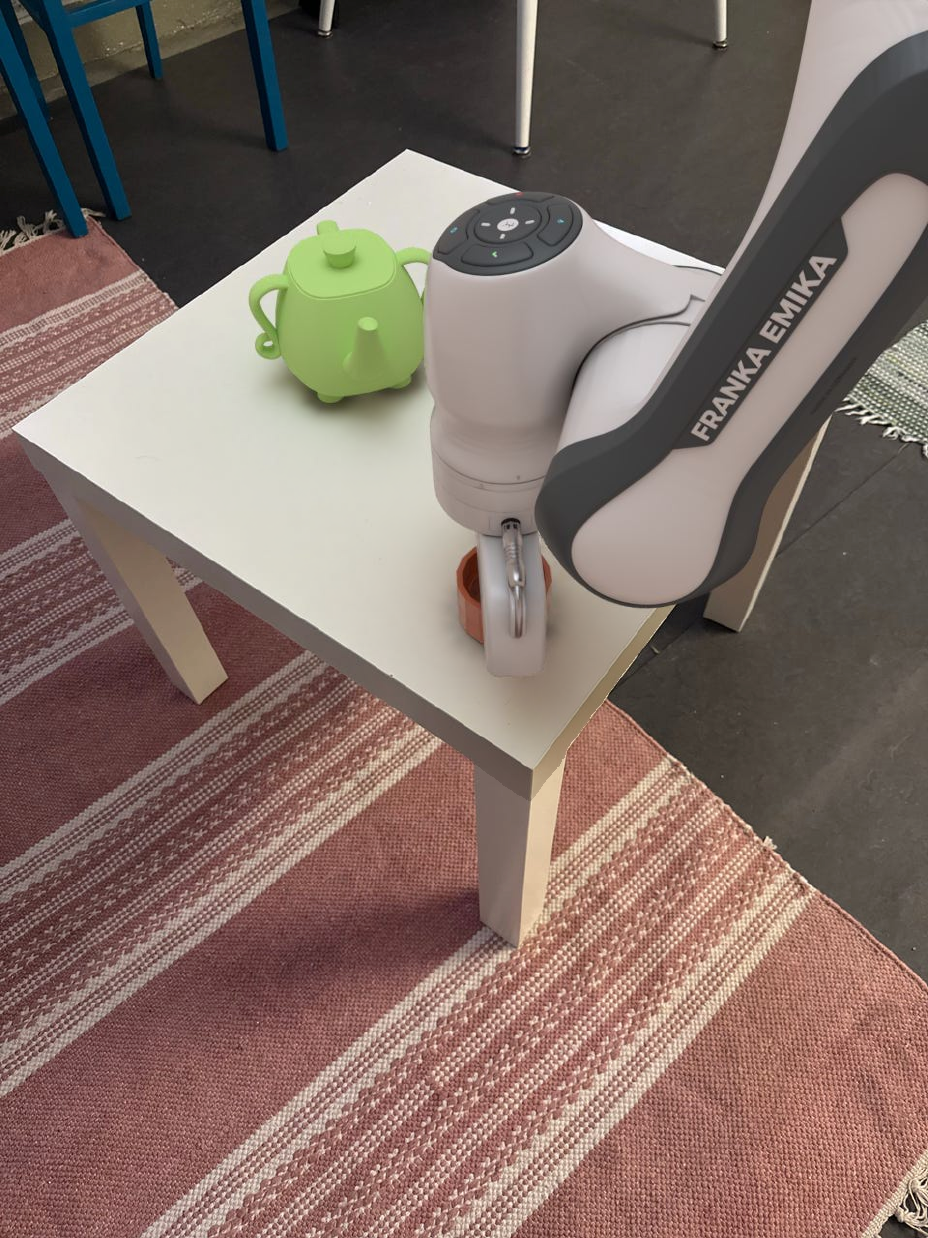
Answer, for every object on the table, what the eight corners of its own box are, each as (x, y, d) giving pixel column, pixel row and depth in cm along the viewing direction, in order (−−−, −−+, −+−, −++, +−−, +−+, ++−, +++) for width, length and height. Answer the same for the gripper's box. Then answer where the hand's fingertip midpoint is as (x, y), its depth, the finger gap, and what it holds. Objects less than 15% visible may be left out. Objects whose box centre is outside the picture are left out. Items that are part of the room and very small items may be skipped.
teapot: (478, 357, 85) (477, 232, 75) (385, 448, 79) (370, 325, 69) (344, 298, 91) (325, 175, 81) (247, 378, 84) (213, 255, 74)
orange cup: (543, 575, 71) (546, 536, 67) (552, 647, 67) (556, 611, 63) (456, 580, 70) (454, 542, 67) (460, 653, 67) (459, 617, 63)
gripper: (577, 599, 50) (562, 721, 61) (539, 353, 62) (532, 493, 73) (462, 606, 50) (467, 726, 61) (446, 358, 61) (453, 498, 73)
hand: (503, 598), depth 67 cm, fingers closed on orange cup, 7 cm apart
